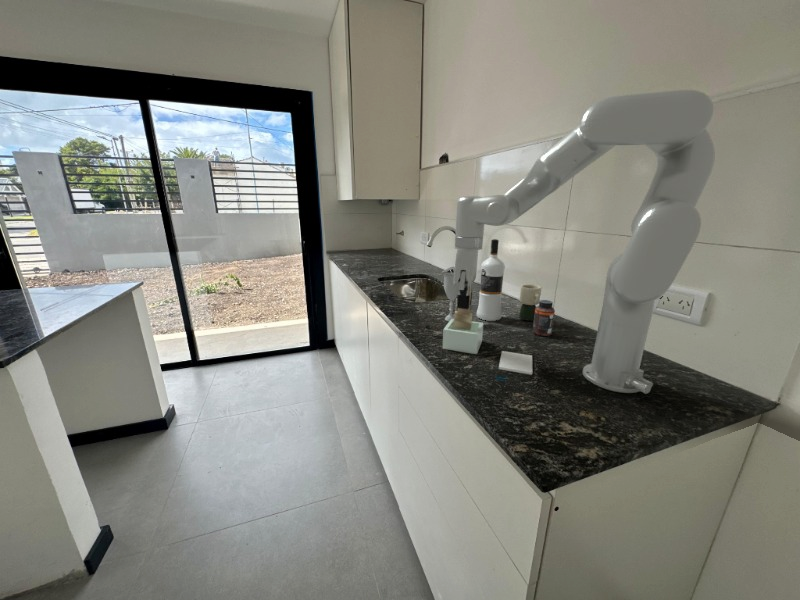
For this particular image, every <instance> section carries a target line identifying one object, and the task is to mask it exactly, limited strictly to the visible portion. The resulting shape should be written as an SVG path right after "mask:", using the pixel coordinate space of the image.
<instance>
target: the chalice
mask: <svg viewBox="0 0 800 600" xmlns="http://www.w3.org/2000/svg"><path fill="white" fill-rule="evenodd" d="M442 274H443V277H444V278H443V279H444V280H443V289H444V292H445V294H446V297H447V299H449V301H450V302H449V304H448V305H449V308H448V310H449V314H447V315H446V316H445V318H444V320H445V321H448V322H449V321H450V320H451V319H454V316H455V314H453V311H454V300H455V299H457V298H458V294H459V282H458V283H457V284H456V285H455V284H454V283H453V280H454V272H444V273H442Z"/></svg>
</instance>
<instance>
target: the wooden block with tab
mask: <svg viewBox="0 0 800 600" xmlns="http://www.w3.org/2000/svg"><path fill="white" fill-rule="evenodd" d="M465 284H467V283H465ZM465 288H466V289H467V287H465ZM471 288H472V289H473V283H472V284H471V285H470V287H469V295H470V300H471ZM470 300H469V308H468V309H462V308H458V307H457V310H455V311H454V328H458V329H464V330H471V324H472V320H473V312H470V310H471V305H470Z"/></svg>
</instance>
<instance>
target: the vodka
mask: <svg viewBox="0 0 800 600" xmlns="http://www.w3.org/2000/svg"><path fill="white" fill-rule="evenodd" d="M498 252H499V239H498V238H497V239H496V238H495V239H494V238H493V239H491V242H490V251H489V257H488V258H487V259H485V260H483V261H482V262H481V265H480V287H479V288H480V290H479V293H478V294H479V295H478V296H479V297H478V298H479V299H478V307H477V310H476V317H477V318H478V319H479V318H480V319H479V320H481V319H482V321H485V320H486V322H495V321H496V320H497V321H499V320H501V318H502V296H503V285H504V283H503V281H504V274H505V273H504V272H505V263H504V262H503V261H502V260H501V259H500V258H499V257H498V254H499V253H498ZM497 321H496V322H497Z"/></svg>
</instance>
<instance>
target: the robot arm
mask: <svg viewBox="0 0 800 600" xmlns="http://www.w3.org/2000/svg"><path fill="white" fill-rule="evenodd" d="M713 115H714V104H713V101H712V99H711V97H710V96H709V95H708V94H706V93H705V92H702V91H700V90H695V89H676V90H675V89H674V90H666V91H665V90H664V91H654V92H646V93H644V92H643V93H635V94H634V93H633V94H623V95H617V96H610V97H605V98H603V99H600V100H598V101H596V102H595V103H593V104H592V105H591V106H589V108H587V110H586V111H585V112H584V114H583V116H582V117H581V121H580V123H579V124H577V125H576V126H575V127H573V128H572V129H571V130H570V131H569V132H567V134H565V135H564V136H563V137H562V138H560V139H559V140H558V141H557V142H556V143H554V144H553V145H552V146H551V147H550V148H548V149H546V151H545V152H543V153H542V154H541V155H540V156H539V157H538V158H537V159H536V161H535V162H534V164H533V166H532V167H531V169H530V170H529V172H528V173H527V174H526V175H525V177H523V178H522V179H521V181H519V182H518V183H517V184H516V185H514V186H513V187H512V188H511V189H509V190H508V191H507V192H506V193H504V194H495V195H494V194H493V195H488V196H477V195H475V196H473V195H472V196H469V195H467V196H461V197H459V198H458V199H457V203H456V216H455V217H456V219H455V239H454V249H456V256H455V261H454V271H453V273H454V280H453V283H454V284H455V285H456V284H457V283H458V282H459V293H458V295H457V309H458V308H462V309H468V308H469V300H470V295H469V287H470V285H471V284H472V285H473V283H474V282H475V280H476V279H477V278H476V277H477V270H478V262H479V261H478V260H479V259H478V258H479V250H483V243H484V233H485V232H484V230H485V225H488V226H493V227H499V226H500V227H501V226H504V225H508V224H511V223H513V222H514V221H516V220H518V219H519V218H520V217H522V215H524V214H526V213H527V212H528V211H529V210H531V209H532V208H534V207H536V205H538V204H539V203H540V202H541V201H542V200H544V199H545V198H546V197H548V196H549V195H551V194H553V193H554V192H556V191H557V190H558V189H559V188H561V186H563V185H564V184H566V183H567V182H568V181H570V180H571V179H572V178H574V177H575V176H577V174H580V173H581V172H582V171H583V170H584V169H586V168H587V167H589V166H590V165H591V164H593V163H595V162H596V161H597V160H598V159H600V158H601V157H603V156H604V155H605V154H606V153H608V152H609V151H610V150H612V149H613V148H614V147H616V146H646V147H647V148H648V149H649V150H650V151H652V152H653V153H654V155H655V158H656V161H657V165H656V171H655V174H654V175H653V178H652V181H651V183H650V185H649V188H648V190H647V192H646V194H645V196H644V197H643V198H644V199H643V200H642V202H641V204H640V206H639V209H638V210H637V212H636V214H635V215H634V217H633V219H632V221H631V226H630V227H631V228H630V231H631V235H630V238H629V240H628V243H627V245H626V247H625V249H624V251H623V252H622V253H621V254H619V255H617V256H616V257H615V258H614V259H613V260H612V261H611V262H610V264H609V266H608V269H607V272H606V277H605V278H606V279H605V287H604V293H603V294H604V295H603V300H602V304H601V305H602V306H601V312H600V315H599V322H598V326H597V331H596V338H595V343H594V347H593V354H592V358H591V359H592V360H591V362H590V363H589V364H586V365H584V367H582V368H583V369H582V375H583V377H584V378H585V379H586V380H587V381H588V382H590V383H592V384H593V385H595V386H597V387H600V388H603V389H604V390H607V391H612V392H617V393H622V394H623V393H624V394H634V393H638V392H640V393H641V392H642V393H643V394H645V395H646V394H649V393H650V392H651V390H652V387H653V386H654V383H653V382H652V381H650V380H648V379H645V378H644V372H645V371H644V370H643V369H641V368H640V366H641V363H642V359H643V354H644V349H645V345H646V341H647V336H648V333H649V329H650V325H651V323H652V322H651V321H652V317H653V312H654V306H655V301H656V300H658V299H659V298H661V297H662V296H663V295H665V294H666V292H668V290H669V289H670V288H671V286H672V284H673V283H674V281H675V280H676V278H677V276H678V275H679V272H680V271H681V269H682V267H683V265H684V263H685V262H686V259H687V257H688V256H689V254H690V252H691V250H692V249H693V247H694V245H695V243H696V241H697V239H698V237H699V235H700V230H701V227H702V218H701V214H700V212H699V211H698V209H697V208H696V206H697V204H698V202H699V199H700V198H701V196H702V193H703V191H704V189H705V187H706V185H707V183H708V181H709V179H710V176H711V173H712V170H713V168H714V165H715V156H716V155H715V146H714V143H713V140H712V137H711V135H710V134H709V132H708V130H707V127H708V126H709V124H710V122H711V120H712V118H713ZM465 283H467V284H465ZM465 287H467V289H466V288H465ZM472 300H473V287H472V288H471V300H470V306H471V305H472Z"/></svg>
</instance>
